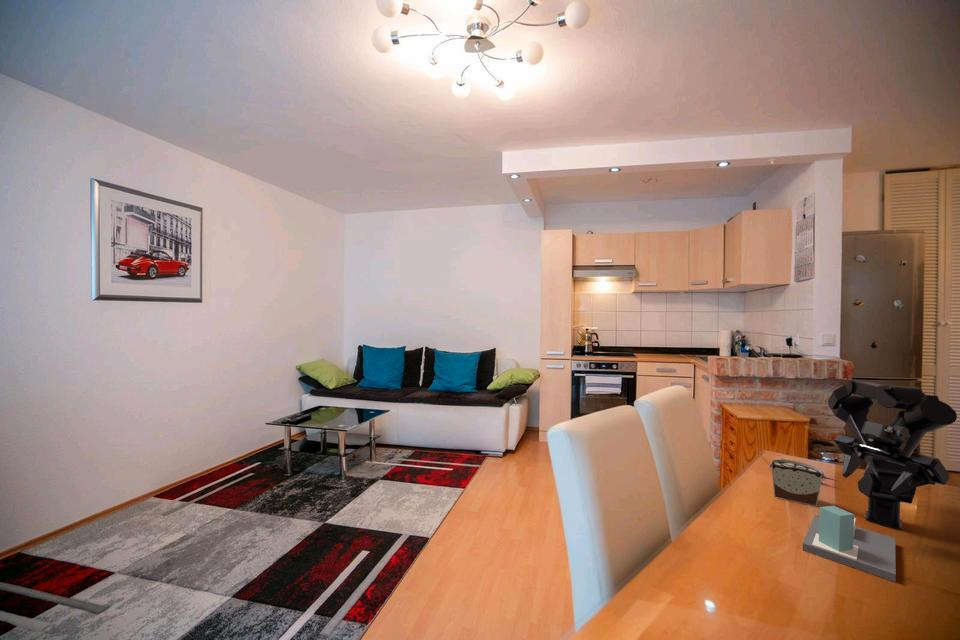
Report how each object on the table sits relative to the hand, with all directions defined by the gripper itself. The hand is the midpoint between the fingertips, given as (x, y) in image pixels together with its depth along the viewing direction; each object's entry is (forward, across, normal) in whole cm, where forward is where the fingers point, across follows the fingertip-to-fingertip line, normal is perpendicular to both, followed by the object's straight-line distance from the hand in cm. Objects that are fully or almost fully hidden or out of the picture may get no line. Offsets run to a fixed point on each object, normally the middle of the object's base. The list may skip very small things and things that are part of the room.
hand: (867, 484), depth 90 cm
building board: (+13, 0, +6) cm, 15 cm away
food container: (+4, -22, +16) cm, 28 cm away
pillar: (+16, +2, 0) cm, 16 cm away
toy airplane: (-9, -33, +28) cm, 44 cm away
